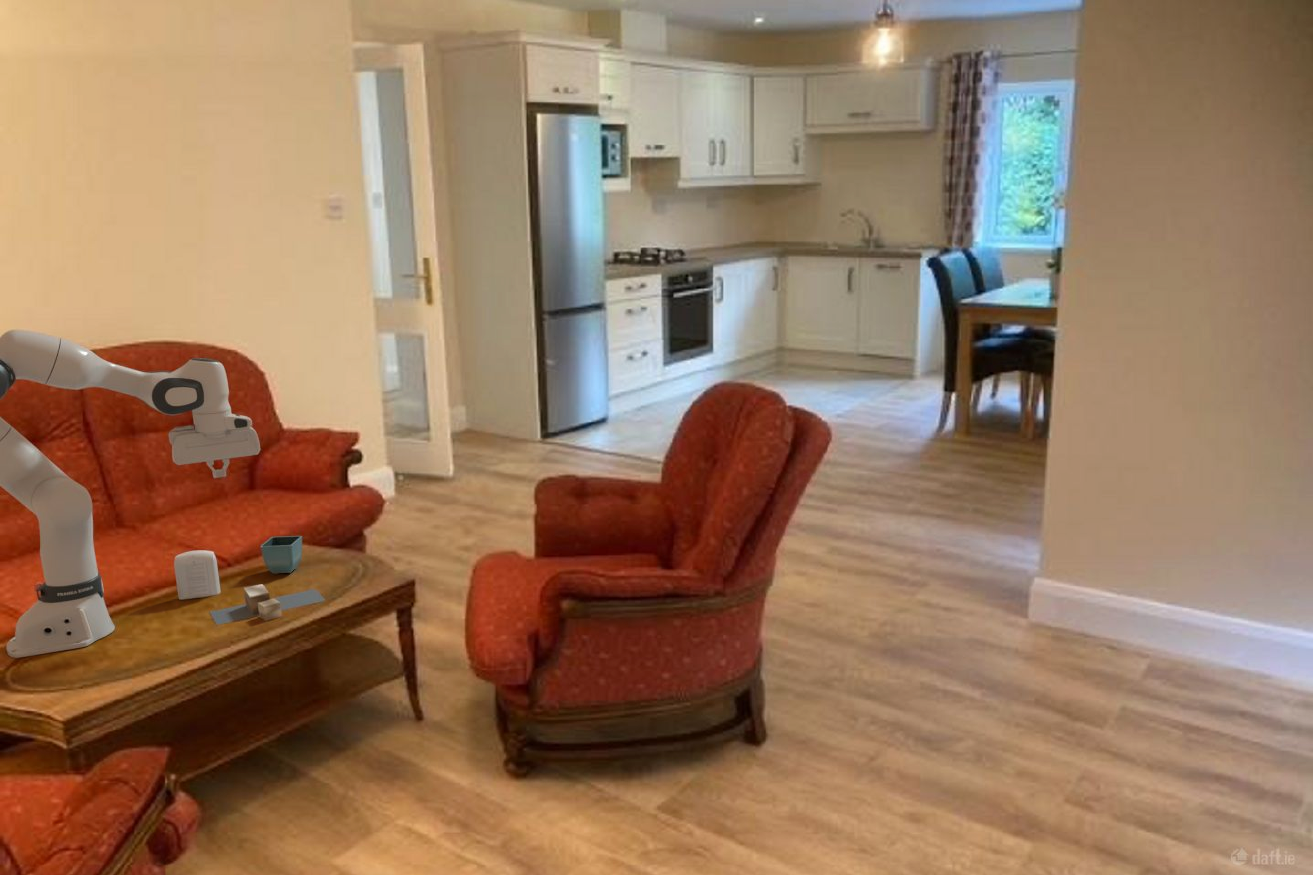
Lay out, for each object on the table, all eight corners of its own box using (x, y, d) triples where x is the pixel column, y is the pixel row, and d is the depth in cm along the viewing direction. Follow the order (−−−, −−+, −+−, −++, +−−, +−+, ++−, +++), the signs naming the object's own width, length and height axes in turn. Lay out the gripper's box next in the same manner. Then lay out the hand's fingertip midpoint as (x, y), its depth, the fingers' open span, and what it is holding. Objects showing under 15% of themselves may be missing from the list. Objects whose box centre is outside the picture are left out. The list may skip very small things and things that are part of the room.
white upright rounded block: (222, 590, 273) (215, 546, 271) (220, 595, 269) (213, 550, 267) (180, 596, 270) (173, 551, 268) (177, 601, 266) (170, 556, 264)
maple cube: (266, 622, 249) (263, 606, 248) (259, 618, 252) (257, 602, 251) (282, 617, 251) (280, 602, 251) (275, 613, 254) (273, 598, 254)
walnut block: (268, 592, 254) (271, 610, 255) (262, 583, 261) (264, 601, 262) (249, 596, 252) (252, 615, 253) (243, 587, 259) (246, 605, 260)
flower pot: (295, 576, 282) (291, 544, 280) (263, 577, 282) (259, 546, 281) (306, 565, 291) (302, 535, 289) (275, 567, 291) (271, 536, 289)
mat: (217, 626, 248) (216, 625, 248) (209, 613, 257) (209, 611, 257) (326, 601, 261) (325, 600, 261) (315, 589, 270) (315, 588, 270)
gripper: (169, 429, 247) (176, 485, 249) (258, 419, 257) (264, 473, 260) (165, 426, 252) (173, 481, 255) (253, 416, 262) (259, 469, 265)
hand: (219, 477), depth 257 cm, fingers closed
